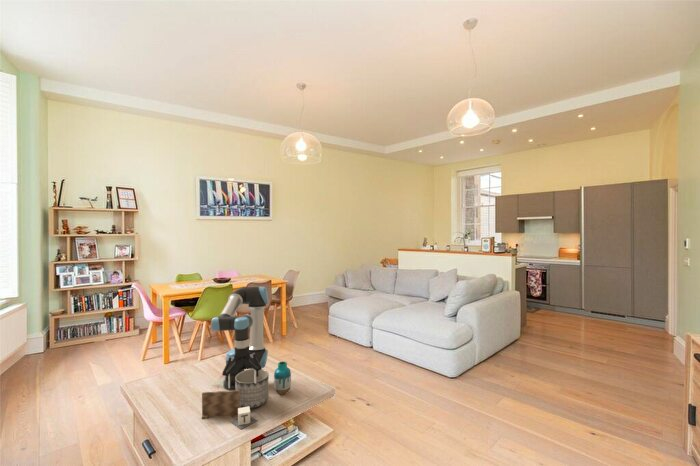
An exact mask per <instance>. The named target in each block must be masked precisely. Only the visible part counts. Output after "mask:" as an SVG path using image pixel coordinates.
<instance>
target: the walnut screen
mask: <svg viewBox="0 0 700 466" xmlns="http://www.w3.org/2000/svg"><path fill="white" fill-rule="evenodd" d="M238 408H241V407H240V390H222V391H221V390H218V391H203V392H201V419H202V420H203V419H209V417H214V416H229V415H231V417H232V418H235V417H238Z"/></svg>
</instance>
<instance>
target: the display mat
mask: <svg viewBox="0 0 700 466" xmlns="http://www.w3.org/2000/svg"><path fill="white" fill-rule="evenodd" d="M256 422H258V419H256V418H255V417H254V416H251V415H250V423H248V424H243V425H238V417H237V418H235V419H233V420H231V421H230V423H231V424H232V425H234V426H235V427H236V428H238V429H239V430H243V429H245V428H247V427H248V425H249V426H250V424H251V425H252V424H254V423H256Z"/></svg>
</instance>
